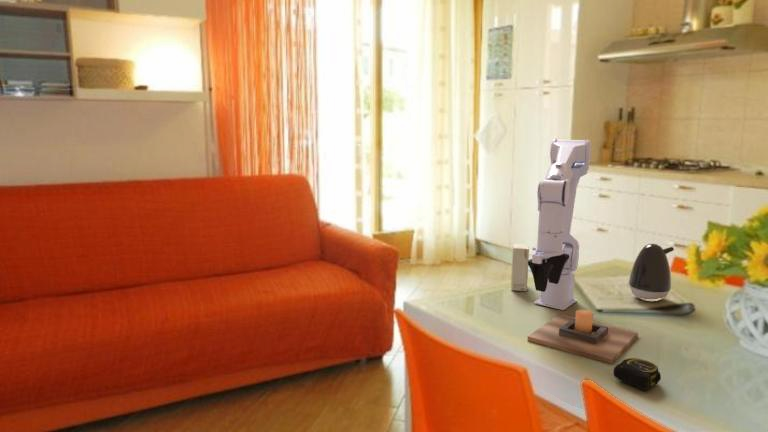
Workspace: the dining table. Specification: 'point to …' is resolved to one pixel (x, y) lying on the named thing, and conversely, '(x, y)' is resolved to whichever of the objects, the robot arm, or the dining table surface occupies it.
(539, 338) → the socket
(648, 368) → the tape measure
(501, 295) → the dining table surface
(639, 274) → the pump dispenser
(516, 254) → the skincare box
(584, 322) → the peg
